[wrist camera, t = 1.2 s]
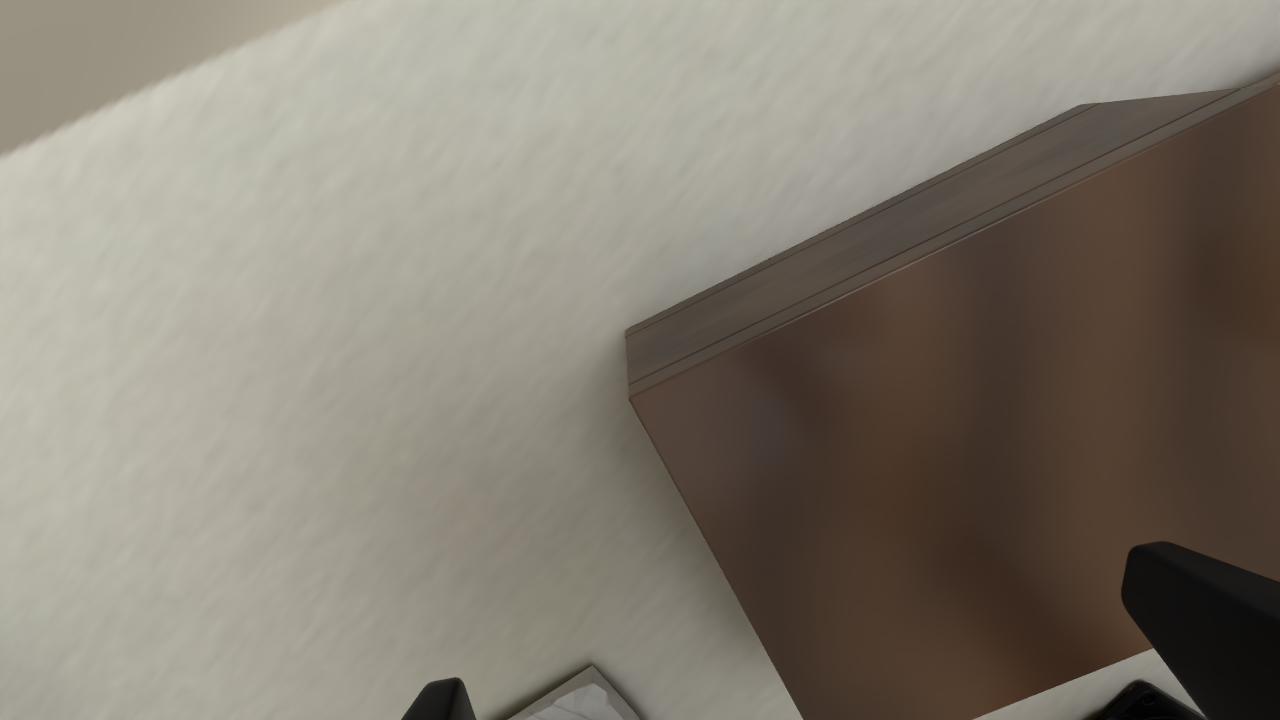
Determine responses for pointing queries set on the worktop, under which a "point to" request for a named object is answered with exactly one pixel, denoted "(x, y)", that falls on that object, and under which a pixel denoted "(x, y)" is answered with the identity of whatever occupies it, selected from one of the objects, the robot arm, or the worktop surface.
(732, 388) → the cabinet
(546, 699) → the packaged product
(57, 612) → the worktop surface
